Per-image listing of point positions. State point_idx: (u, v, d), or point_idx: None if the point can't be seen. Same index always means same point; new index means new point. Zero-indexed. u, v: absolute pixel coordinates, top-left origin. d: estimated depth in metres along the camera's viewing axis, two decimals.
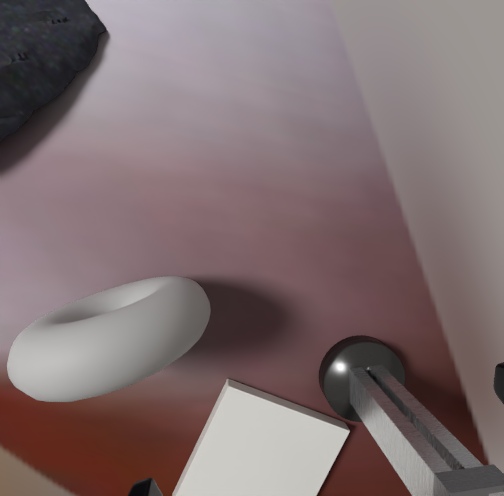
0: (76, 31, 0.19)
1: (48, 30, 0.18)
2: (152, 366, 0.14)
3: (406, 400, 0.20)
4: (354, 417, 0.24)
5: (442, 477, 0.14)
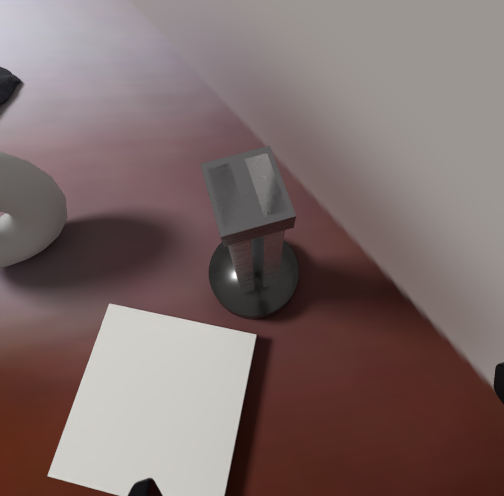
0: None
1: None
2: None
3: None
4: (252, 311, 0.21)
5: None
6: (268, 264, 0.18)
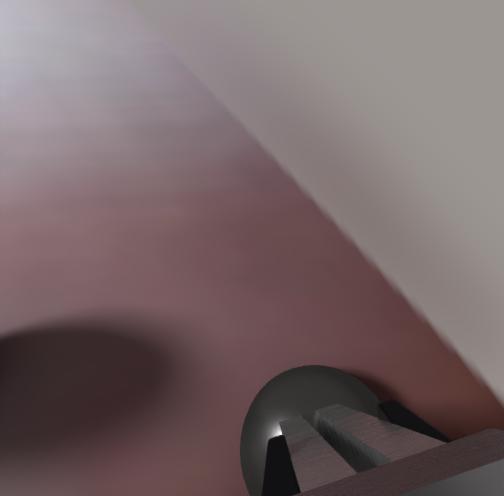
0: None
1: None
2: None
3: (346, 421, 0.09)
4: None
5: None
6: None
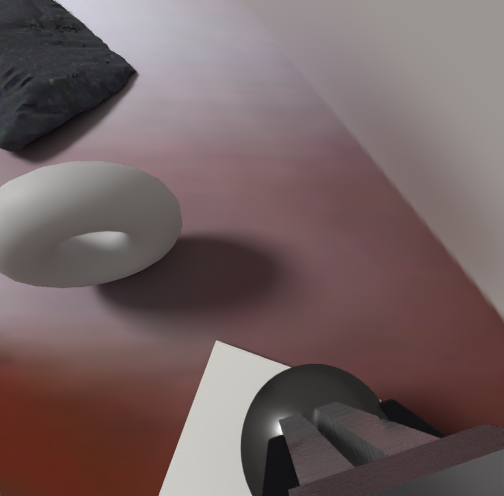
0: (114, 67, 0.28)
1: (95, 65, 0.27)
2: (104, 195, 0.15)
3: (345, 418, 0.09)
4: None
5: (306, 491, 0.04)
6: None
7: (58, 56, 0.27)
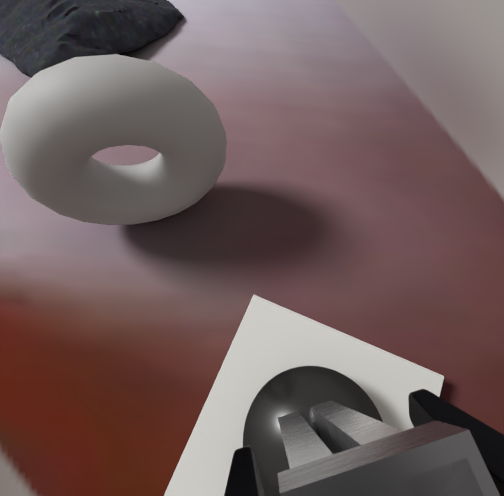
0: (162, 8, 0.26)
1: (143, 3, 0.25)
2: (149, 93, 0.12)
3: (335, 416, 0.10)
4: None
5: (291, 473, 0.05)
6: None
7: None
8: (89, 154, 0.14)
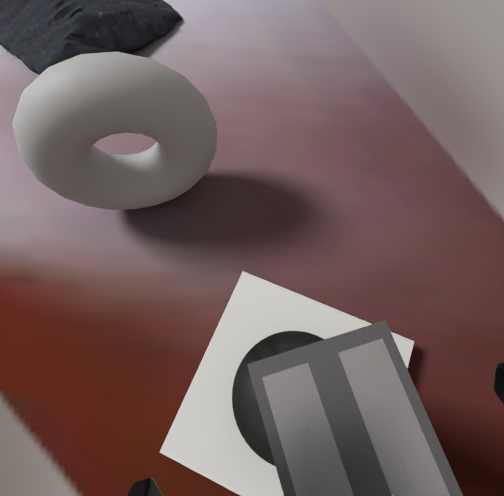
0: (162, 10, 0.28)
1: (143, 5, 0.27)
2: (146, 86, 0.14)
3: None
4: None
5: None
6: None
7: None
8: (93, 141, 0.15)
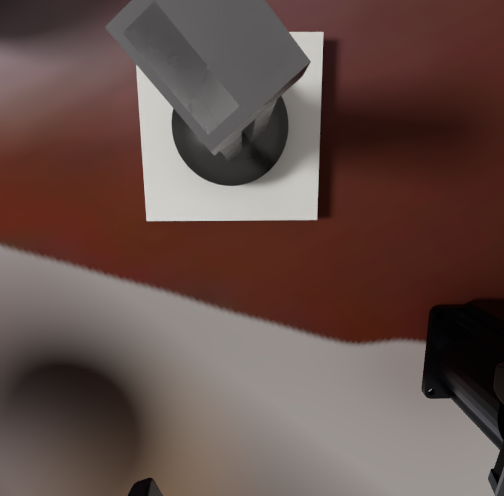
0: None
1: None
2: None
3: None
4: (250, 176, 0.18)
5: None
6: (259, 123, 0.13)
7: None
8: None
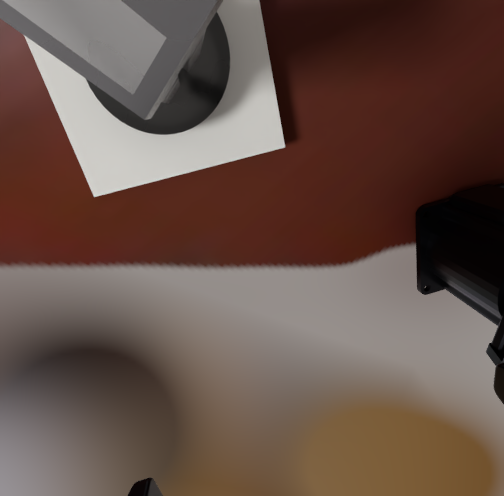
0: None
1: None
2: None
3: None
4: (199, 116, 0.15)
5: None
6: (194, 48, 0.10)
7: None
8: None
